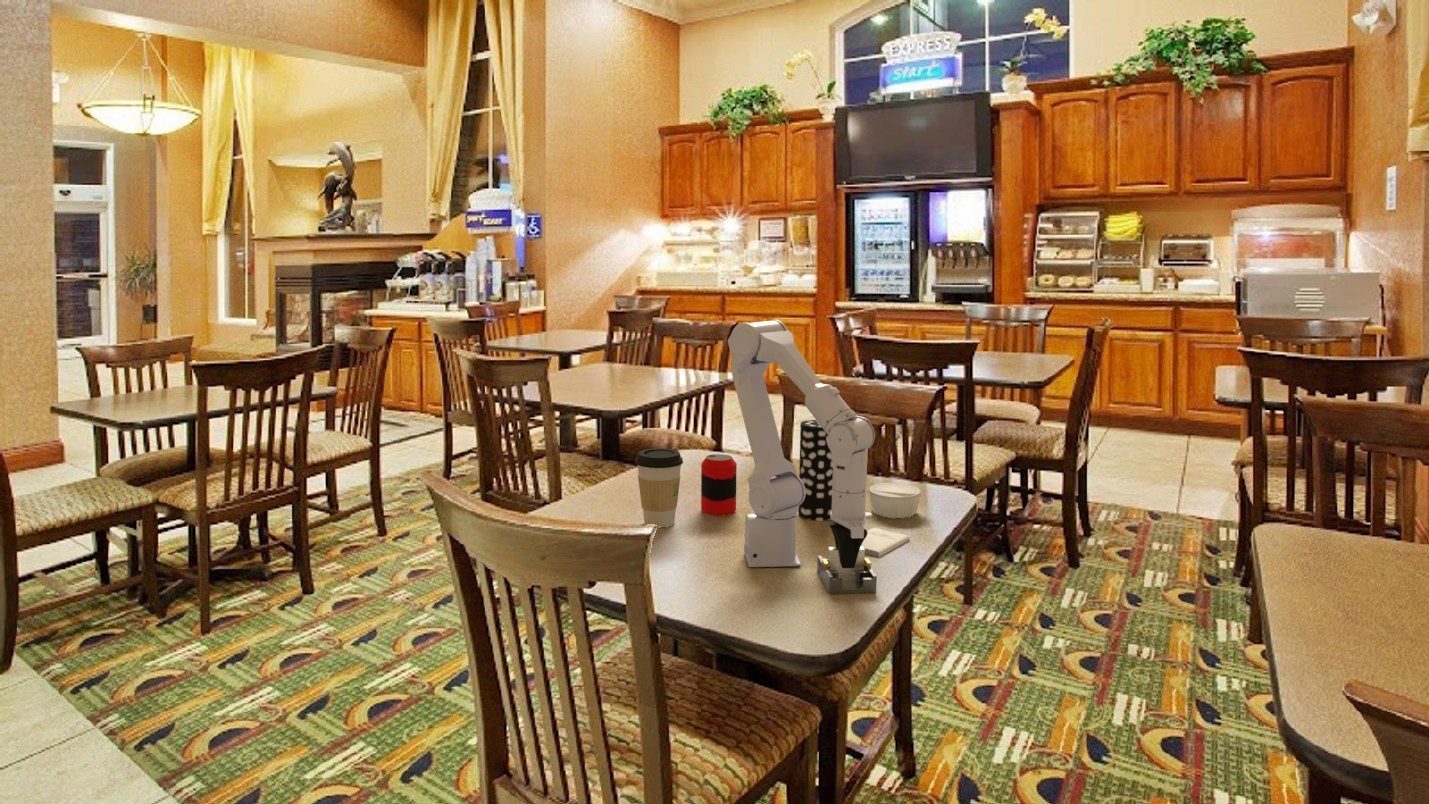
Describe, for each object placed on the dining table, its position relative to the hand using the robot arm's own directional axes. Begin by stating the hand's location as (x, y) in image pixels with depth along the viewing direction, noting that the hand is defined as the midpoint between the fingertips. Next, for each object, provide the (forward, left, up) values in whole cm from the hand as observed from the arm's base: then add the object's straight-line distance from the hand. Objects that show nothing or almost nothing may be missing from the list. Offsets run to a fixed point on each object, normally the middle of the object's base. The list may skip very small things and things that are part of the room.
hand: (846, 565), depth 157 cm
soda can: (-19, +43, -3) cm, 46 cm away
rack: (0, 0, -3) cm, 3 cm away
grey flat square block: (0, 0, -2) cm, 2 cm away
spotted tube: (+2, +39, -3) cm, 39 cm away
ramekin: (+19, +40, -3) cm, 44 cm away
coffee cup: (-32, +35, -3) cm, 47 cm away
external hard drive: (+10, +19, -4) cm, 22 cm away
